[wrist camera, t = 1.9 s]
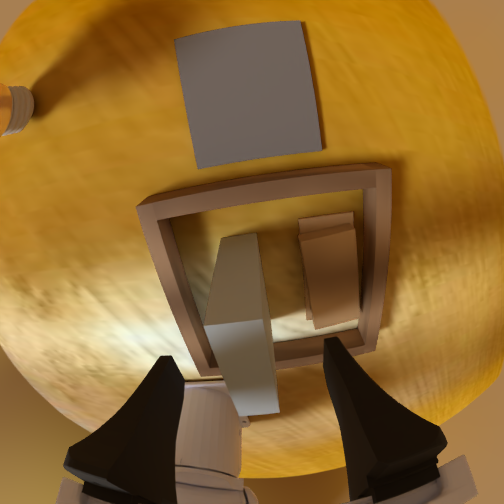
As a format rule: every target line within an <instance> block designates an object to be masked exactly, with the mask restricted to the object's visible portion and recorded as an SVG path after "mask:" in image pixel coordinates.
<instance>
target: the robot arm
mask: <svg viewBox="0 0 504 504" xmlns="http://www.w3.org/2000/svg"><path fill="white" fill-rule="evenodd" d="M323 368H324V373H325V378H326V383H327V387H328V390H329V394H330V397H331V400H332V403H333V406H334V409H335V413H336V416H337V419H338V422H339V426H340V430H341V436H342V441H343V447H344V454H345V460H346V468H347V475H348V485H349V497H350V502H347V503H342V504H464V503H466V502H467V501H469V500H470V499H472V498H474V497H475V496H477V494H478V492H477V489H476V486H475V482H474V480H473V477H472V474H471V471H470V468H469V465H468V463H467V460H466V457H465V455H461V456H460V457H458V458H456V459H454V460H452V461H450V462H449V463H446V464H444V465H443V466H441V467H439V468H437V465H436V464H437V463H438V459H437V455H438V454H439V453H440V452H441V451H442V450H443V449H444V448H445V447H446V446H447V440H446V438H445V435H444V434H443V432H442V430H441V429H440V427H439V426H437V425H435V424H433V423H431V422H429V421H427V420H425V419H423V418H421V417H420V416H418V415H416V414H415V413H413V412H411V411H410V410H409V409H407V408H406V407H404V406H403V405H401V404H400V403H398V402H397V401H396V400H395V399H393V398H392V397H391V396H390V395H388V394H387V393H386V392H385V391H384V390H383V389H382V388H380V387H379V386H378V385H377V384H376V383H375V382H374V381H373V380H372V379H371V378H370V377H369V376H368V374H367V373H366V372H365V371H364V370H363V369H362V368H361V367H360V365H359V364H358V363H357V362H356V361H355V359H354V358H353V357H352V356H351V354H350V353H349V352H348V350H347V349H346V348H345V346H344V345H343V343H342V342H341V340H340V339H339V337H337V336H335V337H330V338H325V339H324V351H323ZM249 426H250V421H249V419H248V416H239V414H238V412H237V410H236V407H235V405H234V403H233V400H232V398H231V396H230V393H229V391H228V388H227V386H226V384H225V381H224V380H222V381H204V382H185V380H184V378H183V376H182V374H181V372H180V370H179V369H178V367H177V365H176V363H175V361H174V359H173V357H172V356H160V357H159V358H158V360H157V361H156V363H155V364H154V365H153V367H152V368H151V370H150V371H149V373H148V374H147V375H146V377H145V378H144V380H143V381H142V382H141V384H140V385H139V386H138V388H137V389H136V390H135V392H134V393H133V394H132V395H131V397H130V398H129V399H128V400H127V402H126V403H125V404H124V405H123V406H122V407H121V408H120V409H119V410H118V411H117V413H116V414H115V415H114V416H112V417H111V418H110V419H109V420H108V421H107V422H106V423H105V424H103V425H102V426H101V427H100V428H99V429H97V430H96V431H95V432H93V433H92V434H91V435H89V436H88V437H86V438H85V439H83V440H81V441H80V442H78V443H76V444H74V445H73V446H71V447H69V449H68V452H67V455H66V458H65V461H64V465H63V466H64V468H65V469H66V470H67V471H69V472H70V473H72V474H73V475H75V476H77V477H78V478H80V479H82V480H83V481H84V485H82V484H80V483H78V482H75V481H73V480H71V479H68V478H65V477H63V478H62V482H61V485H60V489H59V493H58V496H57V501H56V504H259V503H258V499H257V497H256V495H255V494H254V493H253V492H252V490H251V489H250V488H248V487H244V486H243V478H238V476H239V474H240V471H241V435H242V428H243V427H249Z"/></svg>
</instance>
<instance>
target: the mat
mask: <svg viewBox="0 0 504 504" xmlns="http://www.w3.org/2000/svg"><path fill="white" fill-rule="evenodd" d="M174 42H175V49H176V55H177V61H178V67H179V73H180V79H181V84H182V90H183V96H184V101H185V107H186V112H187V117H188V122H189V128H190V133H191V138H192V143H193V148H194V153H195V158H196V162H197V167H198V169H202V168H207V167H212V166H217V165H223V164H228V163H234V162H240V161H246V160H252V159H259V158H265V157H272V156H280V155H288V154H296V153H305V152H314V151H322V145H321V137H320V129H319V121H318V114H317V107H316V101H315V94H314V88H313V82H312V76H311V71H310V65H309V60H308V55H307V50H306V45H305V40H304V36H303V31H302V27H301V22H300V21H280V22H267V23H257V24H249V25H241V26H234V27H228V28H222V29H217V30H212V31H207V32H202V33H198V34H194V35H190V36H186V37H182V38H178V39H174Z"/></svg>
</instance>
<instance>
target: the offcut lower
mask: <svg viewBox="0 0 504 504" xmlns="http://www.w3.org/2000/svg"><path fill="white" fill-rule="evenodd" d="M298 222H299V232H300V234H304V233H308V232H313V231H317V230H321V229H326V228H330V227H334V226H339V225H343V224H347V223H350V224H351V225H352V226H353V227H354V219H353V211H350V212H342V213H335V214H327V215H320V216H313V217H306V218H299V219H298ZM302 264H303V261H302ZM303 277H304V290H305V305H306V320H312V313H311V307H310V301H309V295H308V289H307V283H306V277H305V272H304V266H303Z"/></svg>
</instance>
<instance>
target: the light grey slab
mask: <svg viewBox="0 0 504 504" xmlns="http://www.w3.org/2000/svg"><path fill="white" fill-rule="evenodd" d="M204 329H205V331H206V334H207V337H208V340H209V342H210V345H211V348H212V350H213V353H214V356H215V358H216V361H217V363H218V366H219V369H220V371H221V374H222V376H223V379H224V381H225V384H226V386H227V388H228V391H229V393H230V396H231V398H232V400H233V403H234V405H235V407H236V410H237V412H238V414H239V416H251V415H262V414H271V413H280V409H279V398H278V388H277V377H276V367H275V357H274V347H273V338H272V328H271V319H270V313H269V306H268V300H267V294H266V288H265V282H264V276H263V270H262V264H261V257H260V251H259V245H258V239H257V233H251V234H244V235H238V236H231V237H225V238H221V241H220V245H219V250H218V255H217V260H216V264H215V269H214V274H213V279H212V284H211V289H210V294H209V299H208V305H207V310H206V315H205V320H204Z"/></svg>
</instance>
